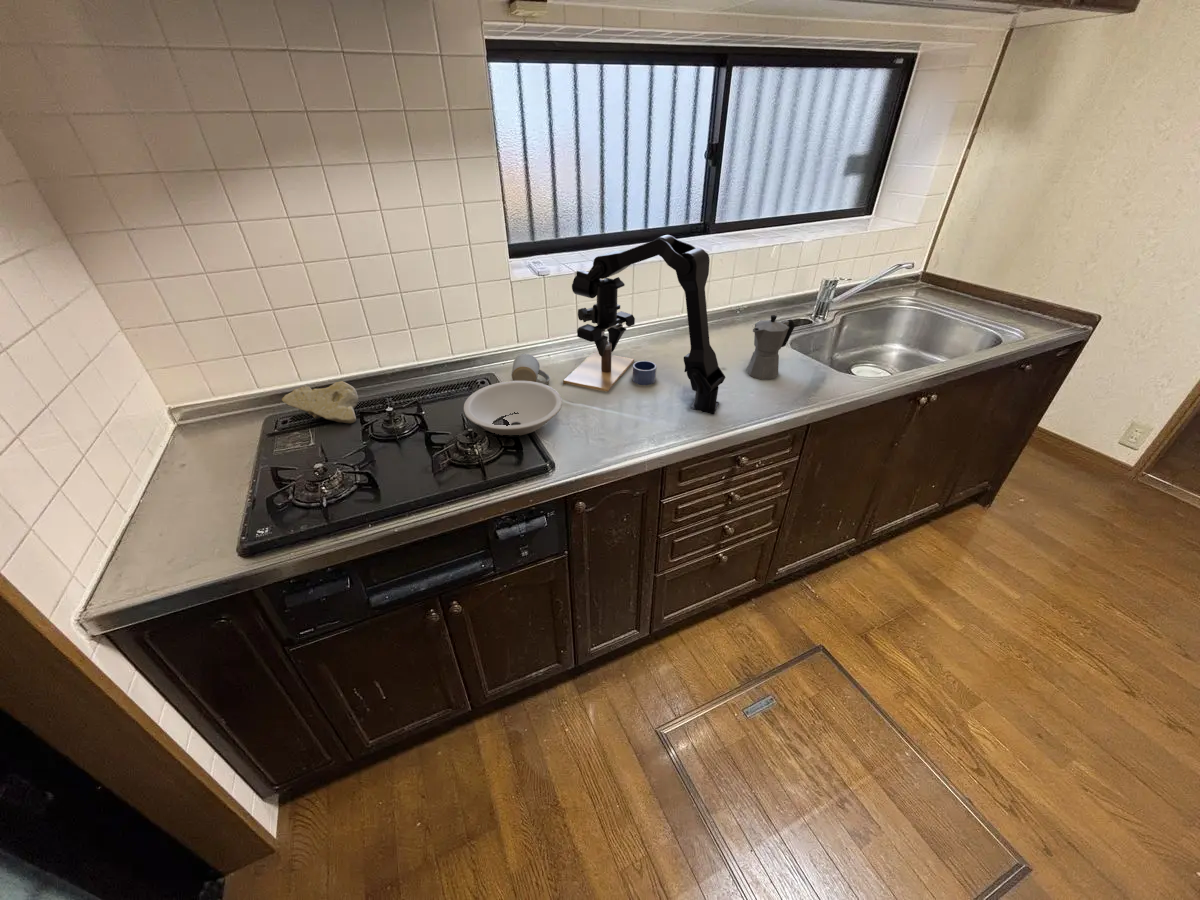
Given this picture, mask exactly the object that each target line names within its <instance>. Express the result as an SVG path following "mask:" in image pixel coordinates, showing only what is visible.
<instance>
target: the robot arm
mask: <svg viewBox="0 0 1200 900" xmlns="http://www.w3.org/2000/svg"><path fill="white" fill-rule="evenodd" d="M658 256H659V257H661V258H662V260H663V261H664V263H665V264H666V265H667V266H668V267H669V268H671V269H673V270H674V271H675V274H676V278H677V281H678V283H679V284H680V286H681V288H682V290H683V291H684V296H685V297H684V298H685V307H686V314H687V315H686V316H687V324H688V334H689V342H690V344H689V345H690V351H689V353H687V354H686V355H684V356H683V364H684V373H686V376H687V378H688V380H689V382H690V386H691V390H692V391H694V392H695V394H694V399H693V402H692V404H691V405H690V410H693V411H699V412H701V413H705V414H709V415H715V414H716V411H717V409H718V407H719V405H720V402H719V401H718V395H719V394H718V393H719V386H720V385H721V384H723V383H724V381H725V379H726V375H725V374H724V372H723V371H722V369H721V368H720V367H719V362H718V358H717V354H716V352H715V351H714V349H713V348H712V346H711V343H710V332H709V322H708V309H707V298H706V284H707V281H708V278H709V273H710V262H711V261H710V255H709V252H706V251H705V249H702V248H700V247H695V246H693V245H692V244H691V243H688V242H685V241H682V240H680V239H678V238H676V237H675V236H673V235H670V234H665V235H661V236H659V237H656V238H655V239H654V240H651V241H648V242H646V243H643V244H641V245H638V246H635V247H632V248H630V249H627V250H617V251H610V252H606V253H604V254H601V255H597V256H596V257H594V258H593V262H592V267H591V268H590V269H589V271H586V270H585V269H579V270H577V271H576V273H575V274H576V275H575V276H574V278H573V280H572V283H571V290H572V292H573V294H574V295H577V296H581V297H584V298H589V299H595V298H596V303H593V305H592V307H589V308H587V307H581V308H578V309H577V317H578V320H579V321H582V322H583V323H586V322H590V321H591V323H593V324H595V325H593V324H589V323H587V324H584V325H581V326H579V327H578V328H577V329H576V334H577V335H576V336H577V338H580V339H582V340H585V341H587V342H589V343H591V342H592V343H593V342H594V344H595V347H596V349H597V353H599V355H600V356H603V355H604V352H605V348H606V343H607V341H608V342H611V343H612V353H613V352H614V351H615V349H616V348H617V346H618V343H619V342H620V340H621V338H622V336H623V335H624V333H625V332H626V331H627V327H628V328H630V327H633V326H634V325H635V322H636V318H635V315H633V314H632V313H628V312H625V311H621V305H620V304H618V291H619V290H618V289H620V288H623V287H625V285H626V284H625V283H624V281H623V280H621V278H620V277H615V278H609V277H612V276H615V275H617V274H620V273H621V272H623V271H625V270H626V269H627V268H628V267H630V266H631V265H634V264H636V263H640V262H643V261H646V260H649V259H651V258H655V257H658ZM618 310H620V311H618ZM623 323H625V326H626V327H624V324H623ZM606 331H607V333H608V336H607V335H605V334H606Z"/></svg>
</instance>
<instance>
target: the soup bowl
mask: <svg viewBox="0 0 1200 900" xmlns="http://www.w3.org/2000/svg"><path fill="white" fill-rule="evenodd" d="M562 406H563V399H562V395H561V394H560V393H559V391H557V390H556V389H555V388H553V387H552V386H549V385H548V384H547V385H545V384H542V383H538V382H532V381H513V380H508V381H500V382H496V383H493V384H489V385H486V386H484V387H481V388H479V389H477V390H476V391H474V392H473V393H471V394H470V395H469V396H468V397H467V398H466V400H465V401H464V404H463V413H464V416H465V417H466V418H467V419H468V420H469V421H470V422H471V423H473V424H475V425H477V426H479V427H481V428H482V429H484V430H485V431H487V432H490V433H492V434H494V433H495V434H494V435H498V434H499V436H503V435H519V436H524V435H528V434H532V433H533V432H536V431H537V430H539V429H541V428H542V427H544V426H545V425H546V424H548V422H549V421H550V420H551V419H552V418H554V417H555V416H557V414H558V413H559V412H560V411H561V408H562ZM514 412H515V413H517V412H518V413H519V414H513V415H509V414H510V413H511V414H512V413H514ZM505 415H509V416H506V417H504V418H503V419H505V420H507V421H508V422H509V424H510V425H508V426H506V425H494V424H492V423H493V421H494V420H496V419H497V418H499V417H501V416H505ZM515 423H517V424H515ZM518 423H519V424H518ZM512 424H513V425H512Z"/></svg>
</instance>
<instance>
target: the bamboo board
mask: <svg viewBox="0 0 1200 900" xmlns="http://www.w3.org/2000/svg"><path fill="white" fill-rule="evenodd" d="M634 363H635V358H632V357H626V356H625V357H624V356H620V355H615V354H614V355H613V354H612V357H611V372H608V373H605V372H602V371H601V356H600V355H599V352H598V351H597V352H596V351H593V352H592V353H590V355H588V357H586V358H585V359H584V360H583V361H582V362H581V363H580V364H579V365H577V367H576V368H575V369H573V371H572V372H570V373H569V374H568V375H567V376H566V377H565V378H564V379H563V380H562V383H563V385H566V384H567V385H573V386H578V387H583V388H588V389H592V390H597V391H603V392H606V393H607V392H609V391H610V390H611V389H612V387H614V385H615V384H616V383H617V382H618V381H619V380H620V378H621V377H622V376H623V375H624V374H625V372H626V371H627V370H628V369H629V368H630V367H631V365H633V364H634Z"/></svg>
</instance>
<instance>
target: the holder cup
mask: <svg viewBox="0 0 1200 900" xmlns="http://www.w3.org/2000/svg"><path fill="white" fill-rule="evenodd" d="M657 368H658V367H657V364H656V363H655V362H653V361H650V360H639V361H638V360H637V361H634V362H633V363H632V375H631V380H632V382H633V383H634V384H636V385H640V386H650V385H653V384H655V382H656V381H657Z"/></svg>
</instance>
